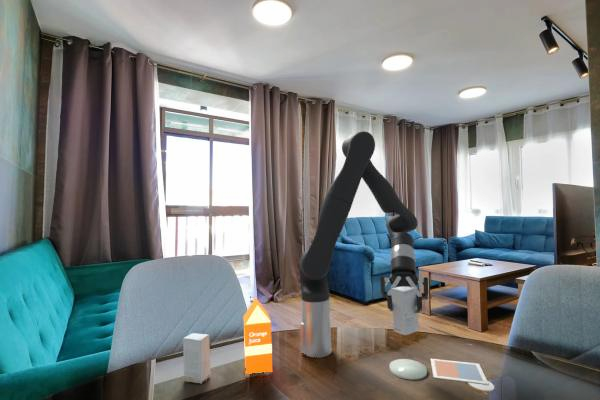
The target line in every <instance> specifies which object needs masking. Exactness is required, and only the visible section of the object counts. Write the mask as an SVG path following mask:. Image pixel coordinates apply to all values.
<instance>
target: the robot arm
mask: <svg viewBox="0 0 600 400" xmlns="http://www.w3.org/2000/svg"><path fill="white" fill-rule="evenodd" d="M375 150H376V141H375V138H374V136H373V134H371V132H369V131H357V132H355V133H353V134H350V135H349V136H347V137H346V138H345V139H344V140H343V141H342V144H341V151H342V154H343V155H344V157H345V159H344V162H343V166H342V168H341V169H340V171H339V173H338V174H337V176H336V177H335V179H334V180H333V182H332V183H331V184H330V186H329V188H328V190H327V192H326V194H325V197H324V199H323V202H322V205H321V207H320V211H319V214H318V220H317V225H316V231H315V234H314V236H313V239H312V241H311V243H310V246H309V247H308V249H307V250H305V251H304V252H303V253H302V254H301V256H300V258H299V278H300V279H299V281H300V295H301V318H302V319H301V321H302V322H301V323H300V348H301V353H304V354H303V355H305V354H306V355H305V356H307V357H308V358H309V357H310V358H314V357H315V358H314V359H319V358H320V359H321V358H324V357H327V356H330V354H331V353H332V332H331V331H332V329H331V328H332V327H331V308H330V305H331V303H330V289H329V283H328V282H329V281H328V273H329V270H330V268H331V267H330V266H331V264H332V258H333V256H334V251H335V249H336V245H337V242H338V239H339V237H340V236H341V232H342V231H343V228H344V226H345V225H346V224H345V223H346V222H347V219H348V216H349V213H350V211H351V210H352V206H353V204H354V201H355V198H356V197H355V196H356V194H357V192H358V188H359V186H360V183H361V180H363V182H364V183H365V184H366V186H367V187H368V189H369V190H370V192H371V194H372V195H373V197H374V199H375V201H376V202H377V204H378V206H379V207H380V209H381V211H382V212H383V213H385V214H392V213H394V214H395V215H393V216H390V217H389V218H387V220H386V223H385V227H386V230H387V232H388V234H389V238H390V241H391V244H390V245H391V248H390V249H391V251H390V276H389V277H385V276H384V275H381V276H380V277H379V279H380V280H379V281H380V283H379V284H380V293H381V297H382V298H386V299H387V300H386V305H387V309H388V310H389V312H393V308H392V291H391V289H392V288H396V287H401V286H409V287H414V288H416V298H417V313H418V314H421V312H422V311H423V301H424V300H426V301H427V300H428V299H429V279H428V277H427V276H426V277H423V278H419V277H418V276H417V267H416V263H417V261H416V254H415V248H414V238H413V236H412V235H411V234H410V233H411V232H412V231H415V230H416V229H417V228H418V219H417V217H416V215H415V214H414V213H413V212H412V211H411V209H409V208H408V207H407V206H406V205H405V204H404V203H403V202H402V201H401V199H400V198H399V196H398V195H397V192H396V191H395V189H394V187H393V186H392V185H391V183H390V182H389V180H387V178H385V177H384V175H382V173H381V172H379V170H378V169H377V168H376V167H375V165H374V164H373V161H371V159H372V156H373V155H374V152H375ZM388 283H390V284H391V285H390V289H389V290H388V291H386V286H387V285H388ZM418 284H420V286H421V287H423V292H422V293H421V292H420V290H419V289H418V287H417V285H418ZM316 357H317V358H316Z"/></svg>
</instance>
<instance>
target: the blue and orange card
mask: <svg viewBox="0 0 600 400" xmlns="http://www.w3.org/2000/svg"><path fill="white" fill-rule="evenodd" d="M430 364H431V370H432V377H433V379H440V380H441V379H442V380H449V381H455V382H464V383H470V384H471V383H472V384H478V385H479V384H481V385H488V386H489V382H488V379H487V377H486V375H485V372H484V371H483V369H482V367H481V365H480V363H475V362H467V361H459V360H450V359H449V360H448V359H447V360H446V359H439V358H430Z"/></svg>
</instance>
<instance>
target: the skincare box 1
mask: <svg viewBox="0 0 600 400" xmlns="http://www.w3.org/2000/svg"><path fill="white" fill-rule="evenodd" d="M182 345H183V347H182V348H183V350H182V351H183V376H184V375H185V376H187V377H191V378H193V379H196V380H200V381H202V380H203V379H205V378H206V377H207V376H208V375H209V374H210V375H211V352H210V351H211V350H210V349H211V346H210V335H209V334H207V333H206V334H205V333H197V332H196V333H195V332H191V333H190V334H188V335H187V336H185V337H183V338H182Z"/></svg>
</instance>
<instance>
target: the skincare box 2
mask: <svg viewBox="0 0 600 400" xmlns="http://www.w3.org/2000/svg"><path fill="white" fill-rule="evenodd" d="M391 291H392V308H393V311H392V325H393V331H394V332H395V333H397V334H400V335H403V336H408V335H410V334H414V333H416V332H418V331H419V330H420V329H419V315H418V314H419V313H417V298H416V288H414V287H409V286H401V287H396V288H392V289H391Z"/></svg>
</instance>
